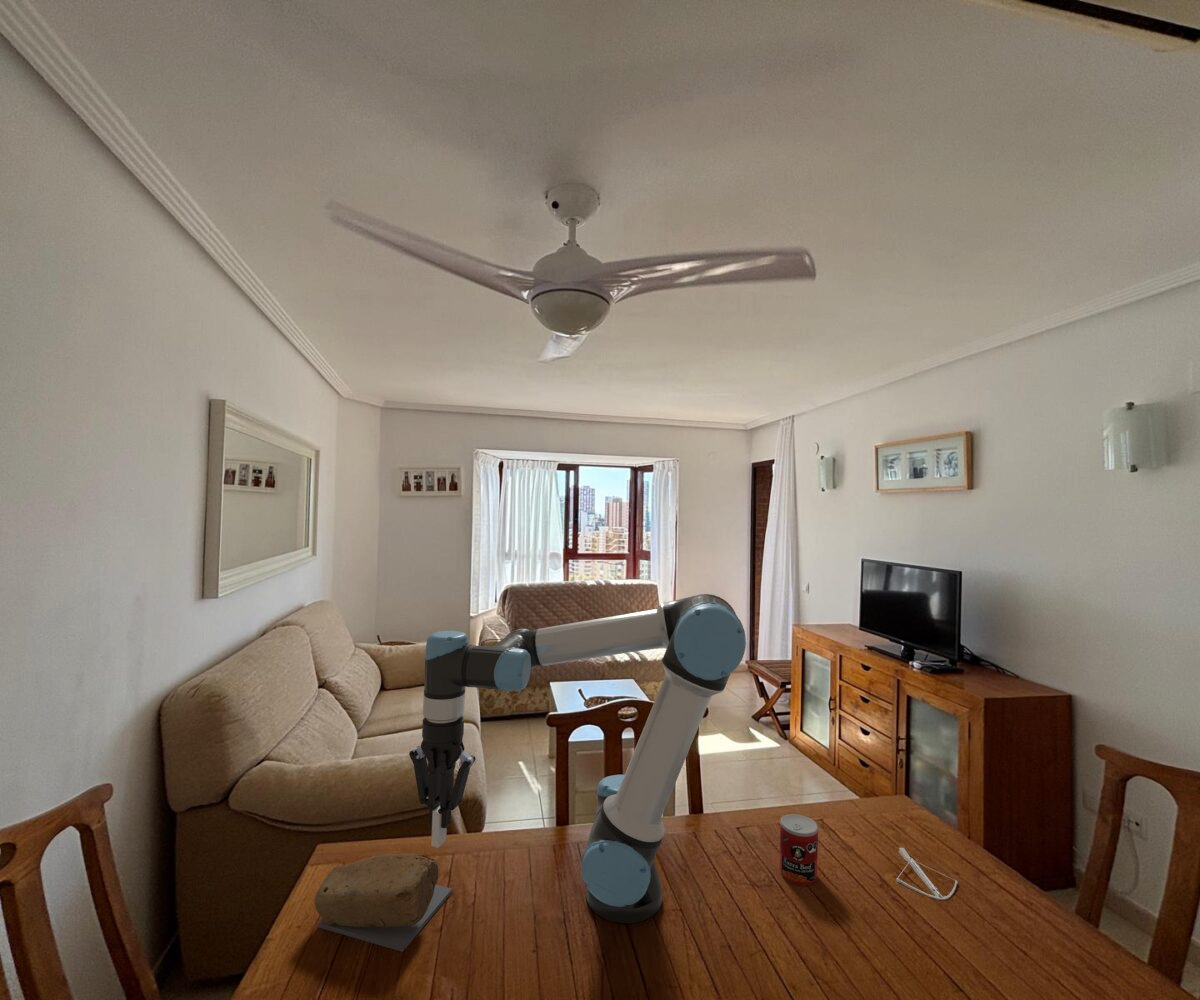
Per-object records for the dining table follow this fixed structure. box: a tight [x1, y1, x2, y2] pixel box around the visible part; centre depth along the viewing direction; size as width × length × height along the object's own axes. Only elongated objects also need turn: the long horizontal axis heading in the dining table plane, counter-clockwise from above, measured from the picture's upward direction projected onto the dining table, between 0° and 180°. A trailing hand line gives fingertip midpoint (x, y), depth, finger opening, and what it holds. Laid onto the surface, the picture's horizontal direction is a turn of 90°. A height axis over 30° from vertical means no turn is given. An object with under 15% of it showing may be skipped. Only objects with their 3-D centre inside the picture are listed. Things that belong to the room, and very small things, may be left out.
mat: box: [317, 884, 453, 953], centre depth 109 cm, size 18×16×1 cm
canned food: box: [779, 813, 819, 886], centre depth 122 cm, size 8×8×11 cm
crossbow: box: [896, 847, 959, 901], centre depth 123 cm, size 16×13×2 cm
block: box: [314, 853, 439, 927], centre depth 105 cm, size 11×8×20 cm
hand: (438, 842), depth 106 cm, fingers closed
